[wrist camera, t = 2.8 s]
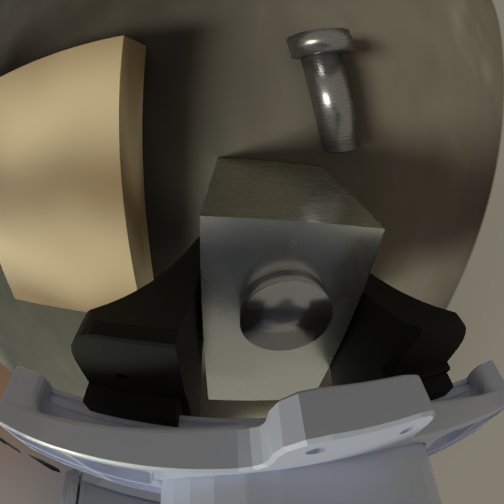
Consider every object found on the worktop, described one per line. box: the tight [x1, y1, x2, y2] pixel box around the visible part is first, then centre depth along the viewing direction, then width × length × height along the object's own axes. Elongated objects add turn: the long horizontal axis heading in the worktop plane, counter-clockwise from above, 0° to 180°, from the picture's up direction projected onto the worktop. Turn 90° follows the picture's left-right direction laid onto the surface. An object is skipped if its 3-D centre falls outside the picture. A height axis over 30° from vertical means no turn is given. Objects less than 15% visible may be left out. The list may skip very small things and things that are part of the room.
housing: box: [200, 158, 385, 401], centre depth 10 cm, size 8×4×7 cm, turn 175°
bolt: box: [286, 28, 361, 152], centre depth 8 cm, size 5×2×2 cm, turn 15°
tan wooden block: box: [0, 35, 154, 312], centre depth 10 cm, size 12×9×2 cm
